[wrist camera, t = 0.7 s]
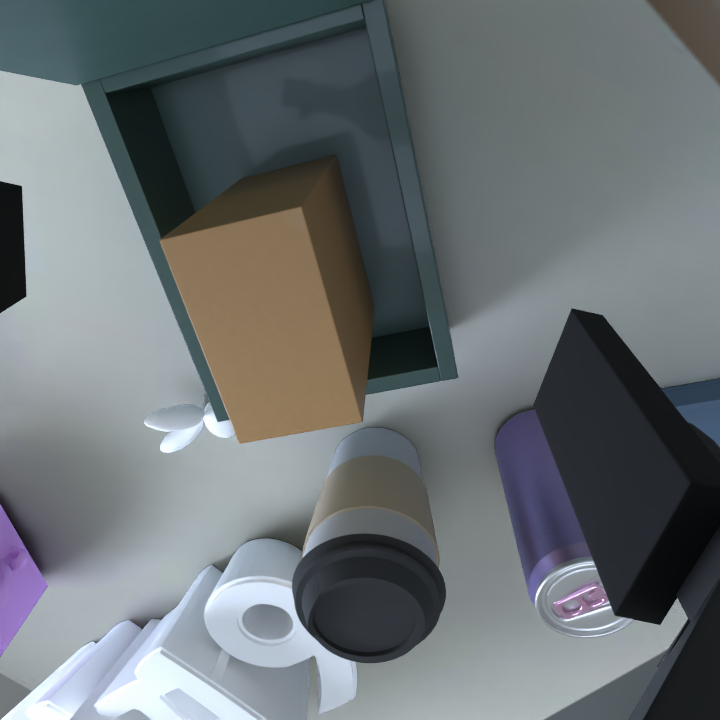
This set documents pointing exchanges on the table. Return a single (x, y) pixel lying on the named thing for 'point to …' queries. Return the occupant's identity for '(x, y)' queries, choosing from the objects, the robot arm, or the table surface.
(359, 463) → the coffee cup
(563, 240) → the table surface
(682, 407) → the tray
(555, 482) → the beverage can
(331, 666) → the white letter sculpture
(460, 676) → the table surface
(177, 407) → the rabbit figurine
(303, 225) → the packet
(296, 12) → the lid
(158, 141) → the box
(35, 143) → the table surface
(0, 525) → the teapot
